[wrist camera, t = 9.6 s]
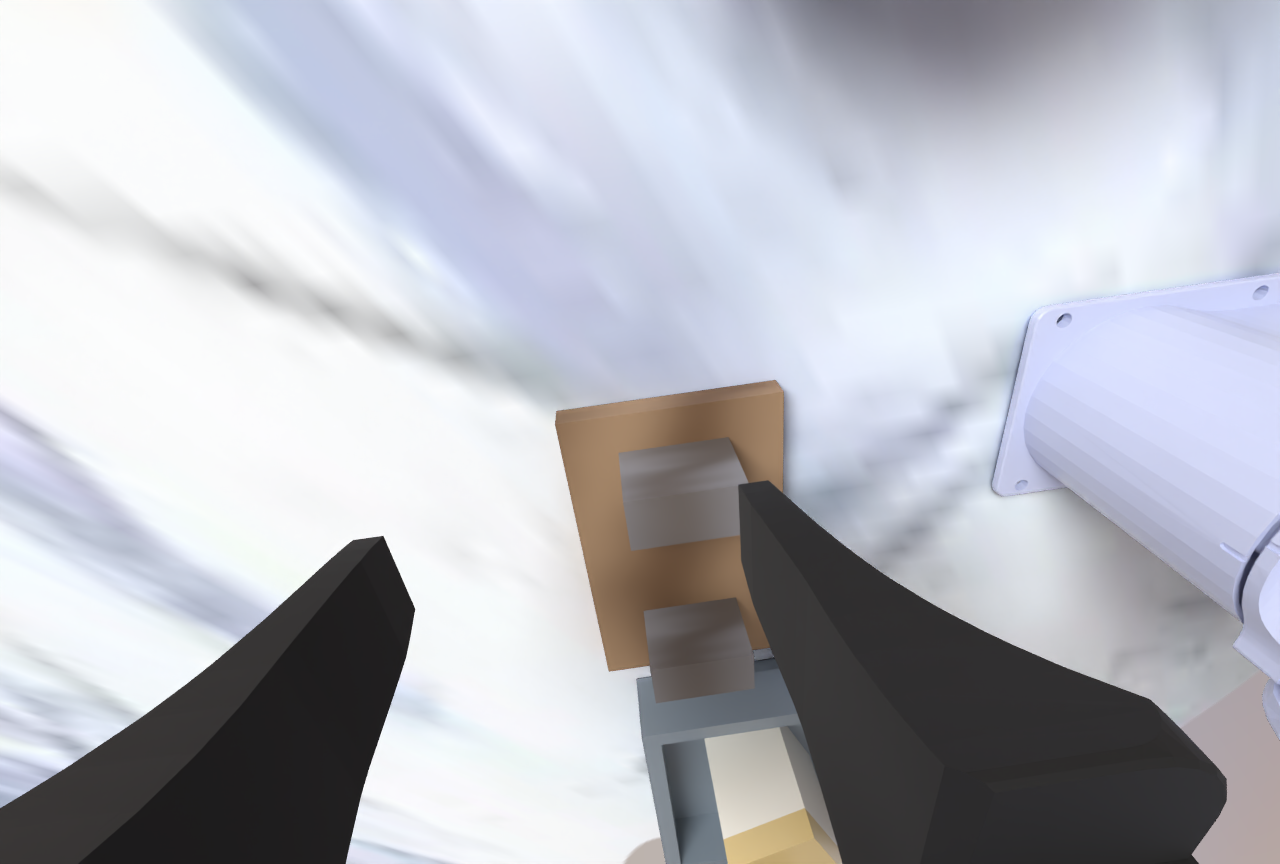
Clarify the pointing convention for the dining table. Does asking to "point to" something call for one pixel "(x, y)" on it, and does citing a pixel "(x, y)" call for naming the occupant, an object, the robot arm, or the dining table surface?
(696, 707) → the tray
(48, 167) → the dining table surface
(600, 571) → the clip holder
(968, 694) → the robot arm
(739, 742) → the white and tan block
